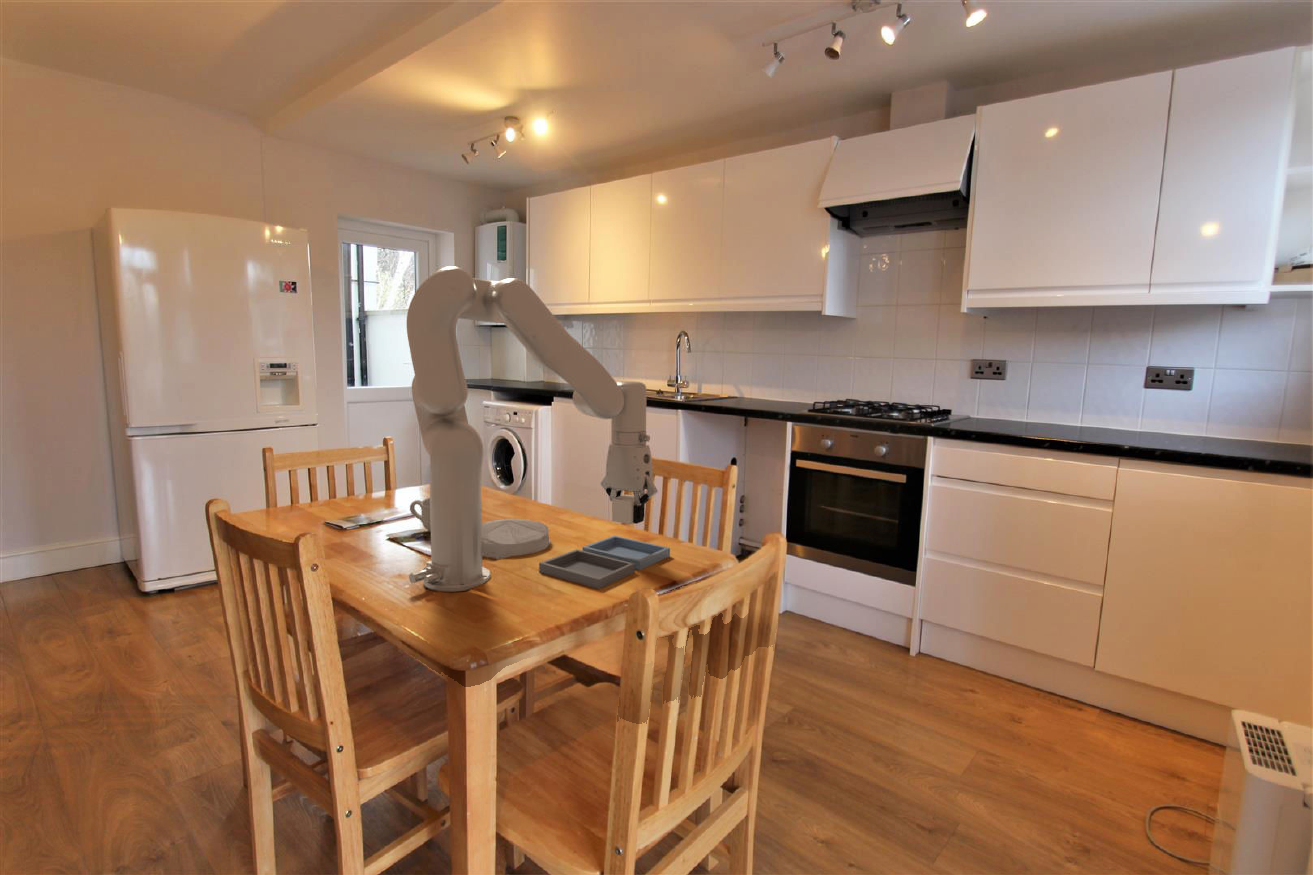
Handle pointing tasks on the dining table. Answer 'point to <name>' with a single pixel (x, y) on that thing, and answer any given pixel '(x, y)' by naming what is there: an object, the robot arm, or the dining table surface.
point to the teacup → (425, 512)
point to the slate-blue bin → (629, 551)
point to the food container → (513, 538)
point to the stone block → (623, 509)
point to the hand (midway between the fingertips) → (628, 519)
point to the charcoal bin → (587, 568)
